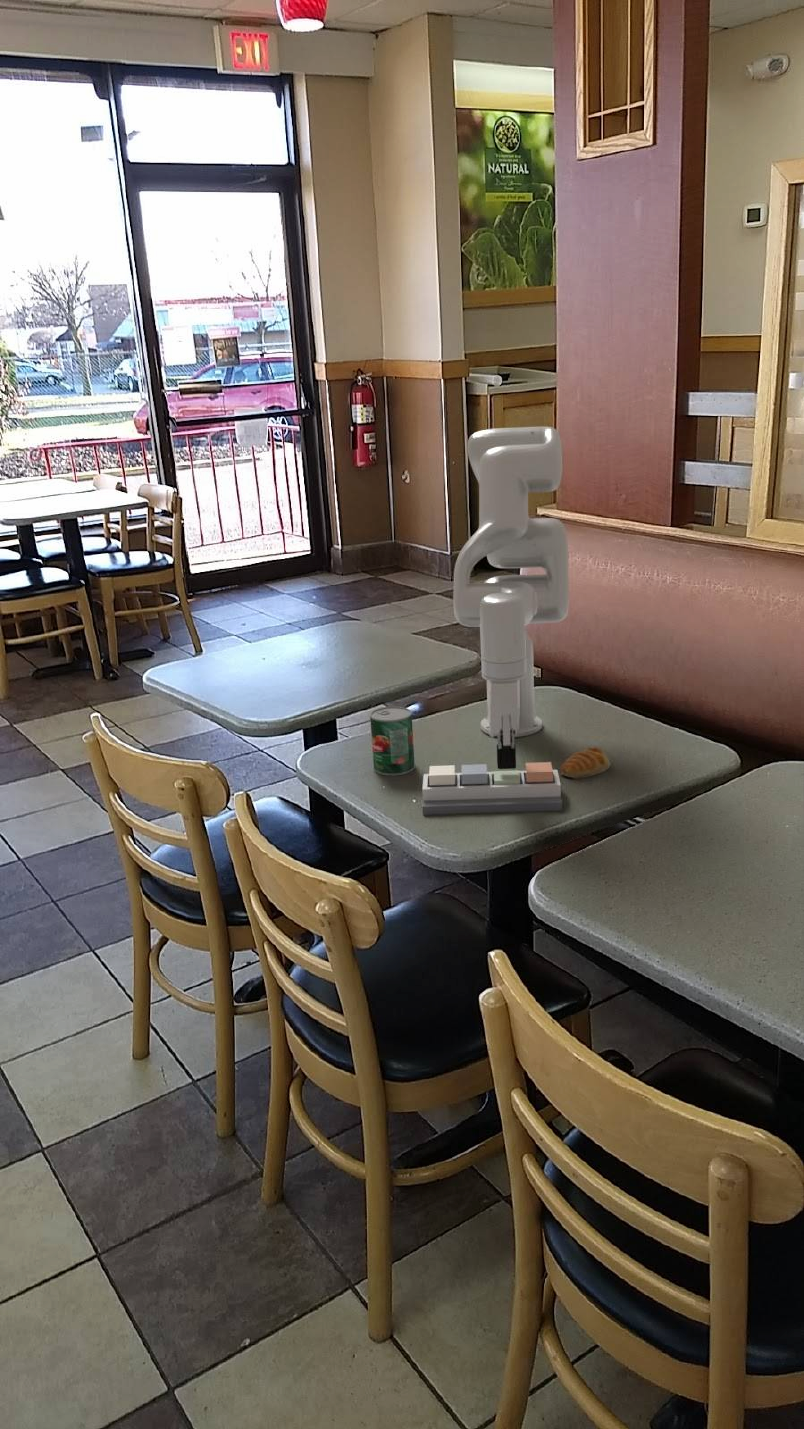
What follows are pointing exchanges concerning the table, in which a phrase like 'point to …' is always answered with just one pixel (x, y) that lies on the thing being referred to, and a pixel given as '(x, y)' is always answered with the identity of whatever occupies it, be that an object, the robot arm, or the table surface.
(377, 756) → the canned tomato
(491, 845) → the table surface
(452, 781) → the ivory key
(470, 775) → the slate key
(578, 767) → the pastry
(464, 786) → the keypad
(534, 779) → the terracotta key
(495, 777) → the sage key
